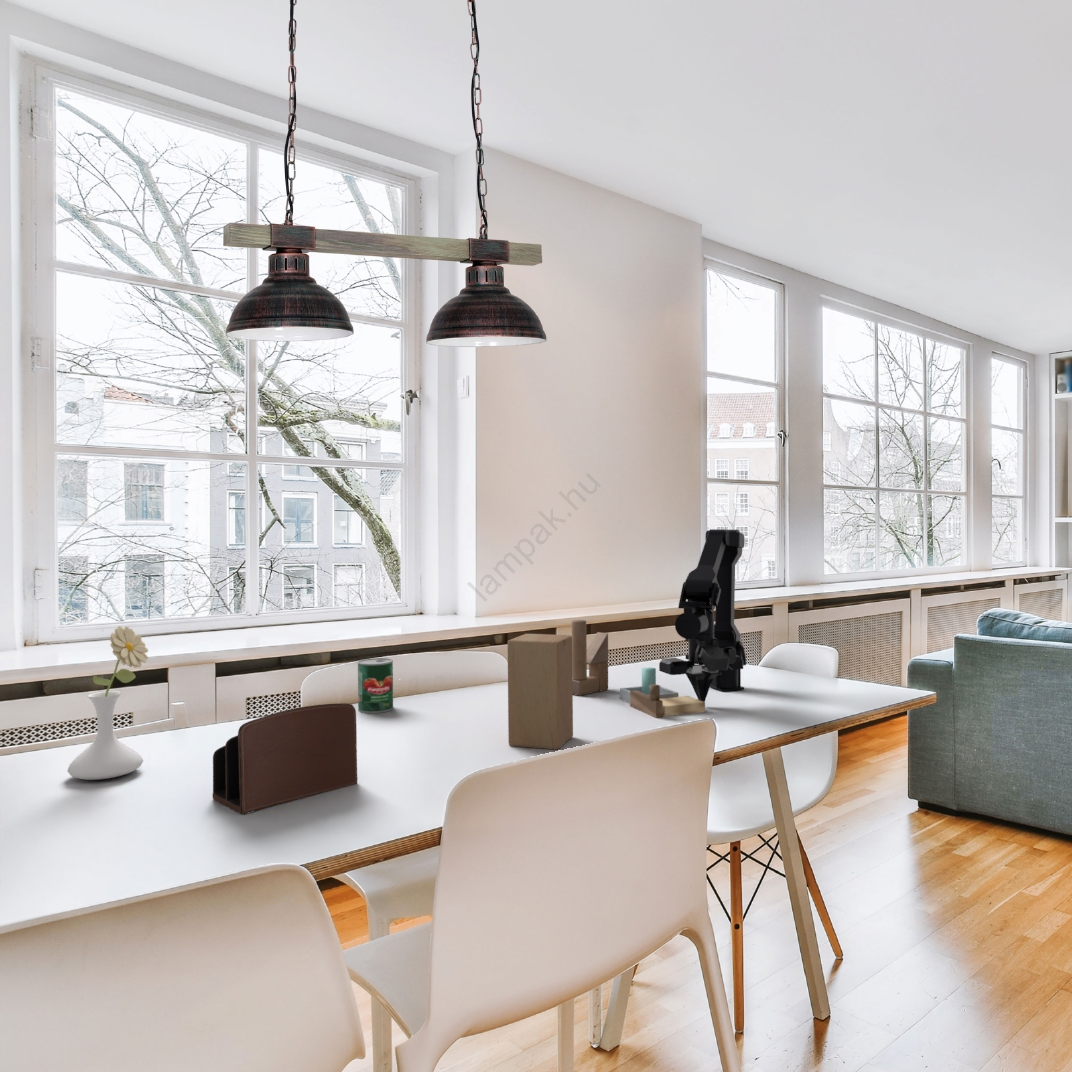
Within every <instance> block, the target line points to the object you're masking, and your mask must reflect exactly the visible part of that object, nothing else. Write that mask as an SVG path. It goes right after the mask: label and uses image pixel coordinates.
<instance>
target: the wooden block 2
mask: <svg viewBox="0 0 1072 1072" xmlns="http://www.w3.org/2000/svg"><path fill="white" fill-rule="evenodd" d="M571 636H572V680H573V696H579V697H580V696H586V695H589V694H594V693H598V692H603V691H607V690H609V662H608V661H609V633H607V632H599V631H598V632H596V633H595V636H593V638H592V640H591V642H590V644H589V645H588V647H587V642H588V641H587V620H585V619H573V620H571ZM587 669H588V671H587ZM587 672H588V673H587Z"/></svg>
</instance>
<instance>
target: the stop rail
mask: <svg viewBox="0 0 1072 1072" xmlns="http://www.w3.org/2000/svg"><path fill="white" fill-rule="evenodd" d="M660 686H661V685H659V684H656V685H649V695H647V694H644V693H642V692H639V691H637V690H634V691H630V703H629V705H630V707H631V708H633V709H636V710H638V711H640V712H642V713H644V714H646V715H649V716H651V717H653V718H656V719H659V718H663V717H664V715H663V701H661V700H660Z"/></svg>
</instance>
